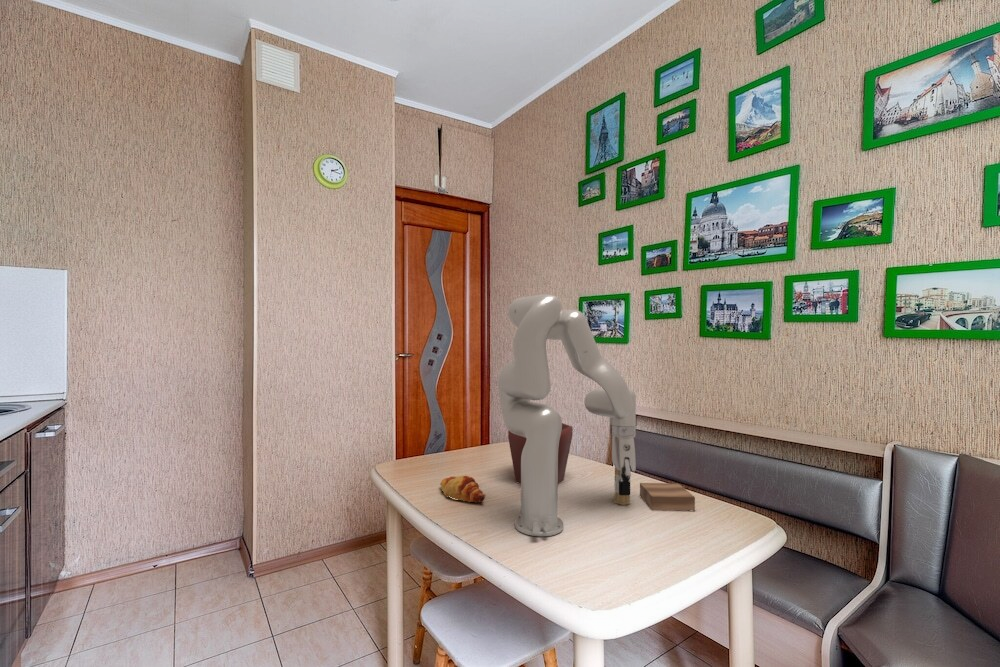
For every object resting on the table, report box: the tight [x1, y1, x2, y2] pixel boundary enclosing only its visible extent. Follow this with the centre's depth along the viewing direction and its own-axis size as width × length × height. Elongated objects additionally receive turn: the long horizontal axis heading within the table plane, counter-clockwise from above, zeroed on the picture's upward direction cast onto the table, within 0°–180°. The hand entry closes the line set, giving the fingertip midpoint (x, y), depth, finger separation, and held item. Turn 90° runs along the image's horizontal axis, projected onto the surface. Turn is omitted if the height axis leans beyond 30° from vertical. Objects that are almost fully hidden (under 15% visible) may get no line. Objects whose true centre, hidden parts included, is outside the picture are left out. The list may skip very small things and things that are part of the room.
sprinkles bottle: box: [614, 466, 631, 506], centre depth 133 cm, size 5×5×14 cm
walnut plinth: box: [639, 482, 696, 511], centre depth 132 cm, size 12×12×4 cm
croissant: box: [440, 474, 486, 504], centre depth 137 cm, size 21×10×8 cm, turn 43°
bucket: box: [507, 422, 574, 485], centre depth 154 cm, size 24×22×25 cm
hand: (622, 491), depth 133 cm, fingers closed on sprinkles bottle, 4 cm apart
